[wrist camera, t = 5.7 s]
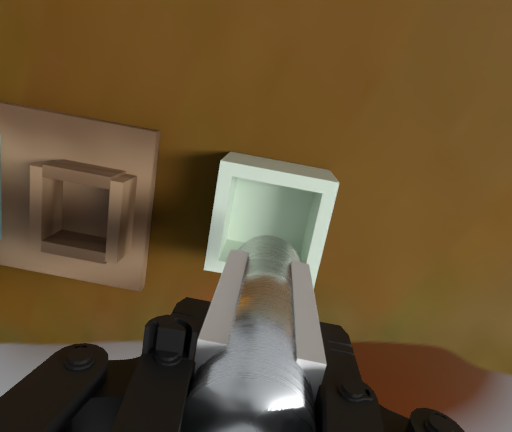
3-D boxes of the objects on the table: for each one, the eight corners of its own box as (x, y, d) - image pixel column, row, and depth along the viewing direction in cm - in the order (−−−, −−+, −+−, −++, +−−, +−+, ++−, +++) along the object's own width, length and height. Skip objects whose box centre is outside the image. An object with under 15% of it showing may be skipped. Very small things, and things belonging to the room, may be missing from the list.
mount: (-120, 78, 27) (-178, 74, 23) (160, 131, 26) (143, 134, 23) (-105, 237, 30) (-153, 254, 27) (144, 285, 30) (127, 308, 27)
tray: (230, 151, 27) (220, 160, 22) (329, 170, 26) (339, 182, 22) (215, 244, 29) (203, 269, 24) (308, 261, 28) (313, 290, 24)
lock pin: (238, 229, 18) (185, 366, 8) (306, 241, 18) (330, 393, 8) (229, 290, 19) (170, 478, 9) (293, 302, 19) (302, 503, 9)
